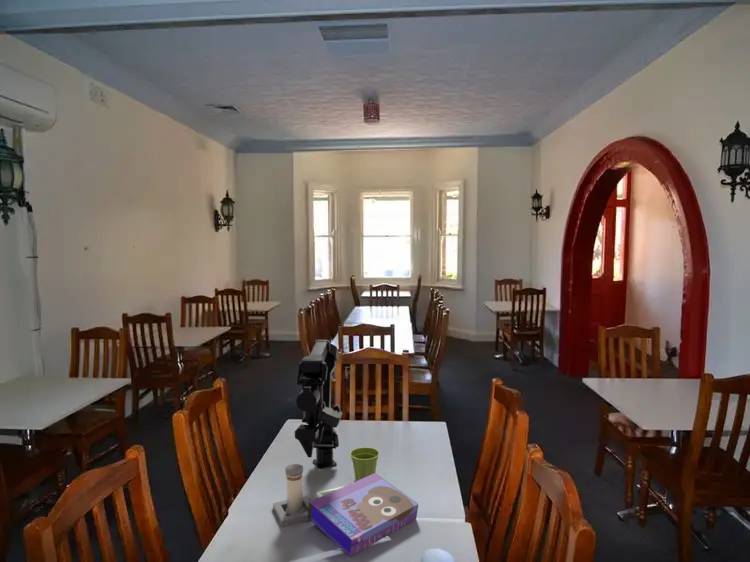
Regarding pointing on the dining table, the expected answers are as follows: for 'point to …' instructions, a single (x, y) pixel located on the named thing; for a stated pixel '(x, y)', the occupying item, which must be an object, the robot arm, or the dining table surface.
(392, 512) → the cereal box
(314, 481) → the dining table surface
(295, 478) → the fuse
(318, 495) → the parts tray
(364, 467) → the plant pot
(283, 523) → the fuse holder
